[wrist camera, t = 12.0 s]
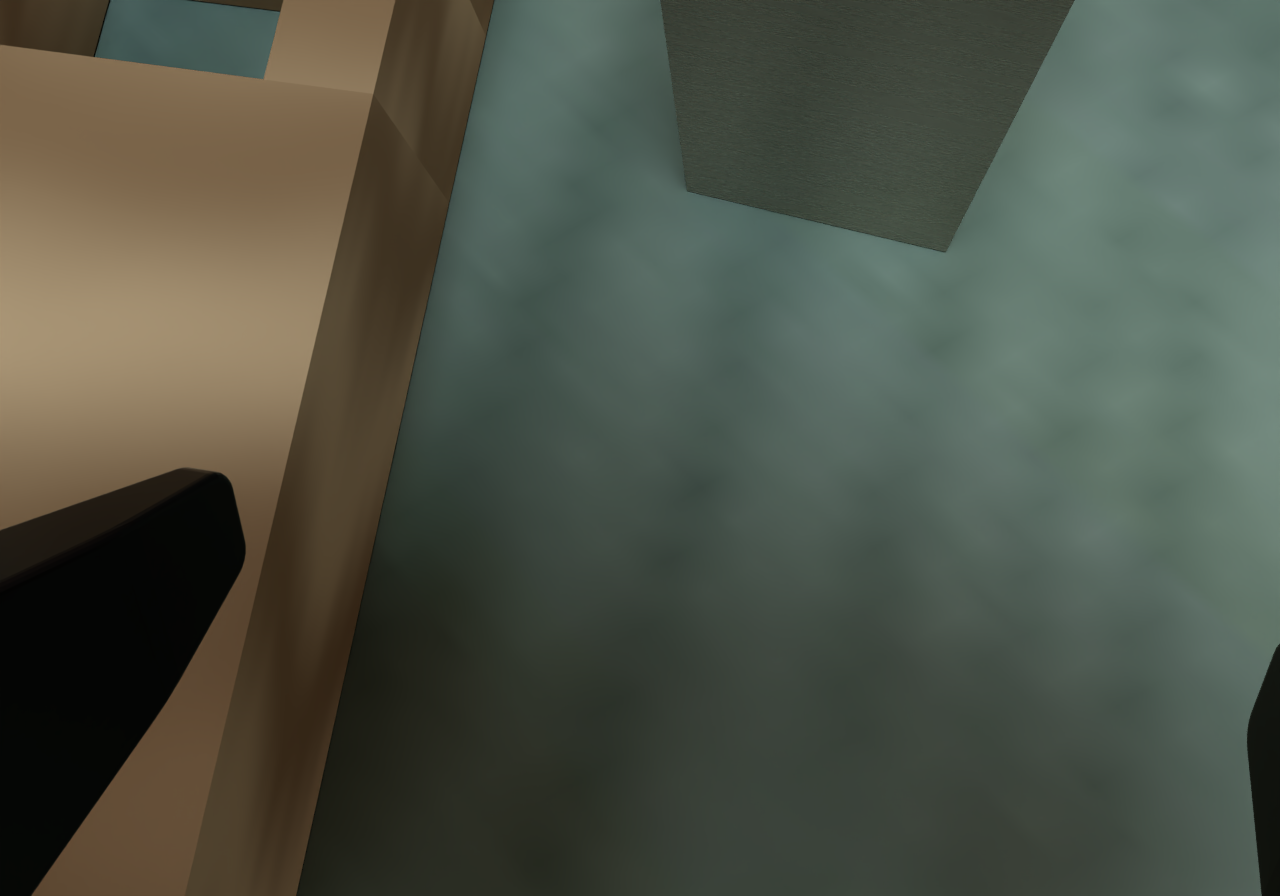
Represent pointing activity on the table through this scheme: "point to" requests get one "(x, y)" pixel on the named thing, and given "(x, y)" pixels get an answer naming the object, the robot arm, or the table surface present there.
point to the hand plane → (226, 371)
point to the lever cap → (853, 103)
